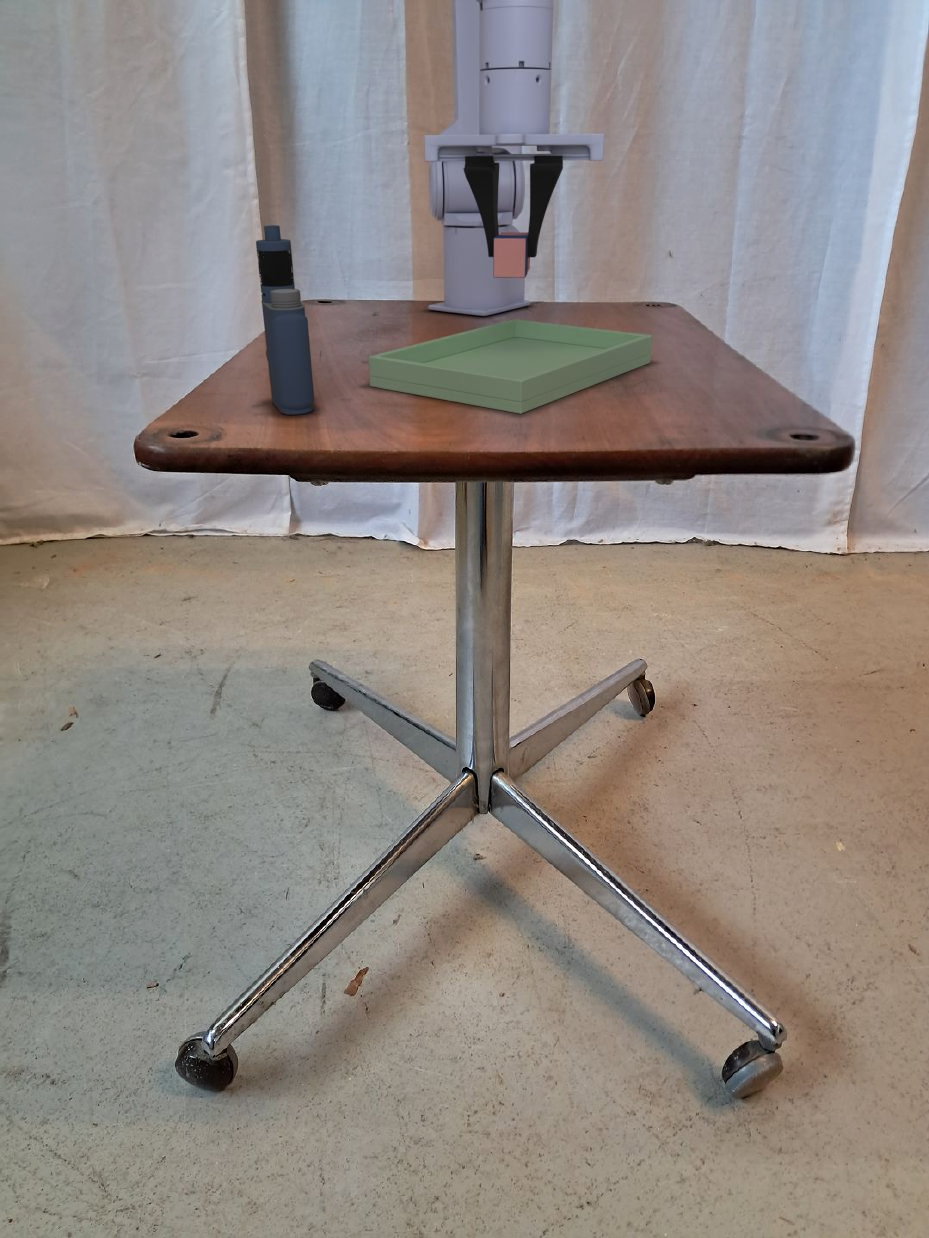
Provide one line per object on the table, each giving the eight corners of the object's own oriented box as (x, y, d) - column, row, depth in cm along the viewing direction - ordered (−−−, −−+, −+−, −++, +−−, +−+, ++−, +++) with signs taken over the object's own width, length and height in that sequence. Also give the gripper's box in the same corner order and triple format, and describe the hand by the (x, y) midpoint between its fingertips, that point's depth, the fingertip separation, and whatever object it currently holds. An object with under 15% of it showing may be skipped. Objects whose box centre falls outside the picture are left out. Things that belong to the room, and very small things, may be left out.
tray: (513, 344, 86) (513, 318, 85) (650, 362, 78) (652, 335, 77) (369, 386, 72) (368, 356, 71) (520, 414, 64) (521, 381, 63)
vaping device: (302, 396, 69) (287, 224, 63) (318, 413, 65) (303, 230, 59) (268, 400, 68) (249, 225, 63) (282, 417, 64) (263, 231, 58)
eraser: (500, 269, 82) (500, 231, 80) (530, 269, 81) (531, 232, 80) (492, 278, 76) (493, 238, 75) (525, 278, 76) (526, 238, 75)
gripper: (415, 69, 69) (420, 260, 76) (608, 66, 68) (597, 262, 74) (430, 75, 76) (434, 251, 82) (608, 72, 74) (597, 252, 80)
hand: (512, 256), depth 78 cm, fingers closed on eraser, 3 cm apart
